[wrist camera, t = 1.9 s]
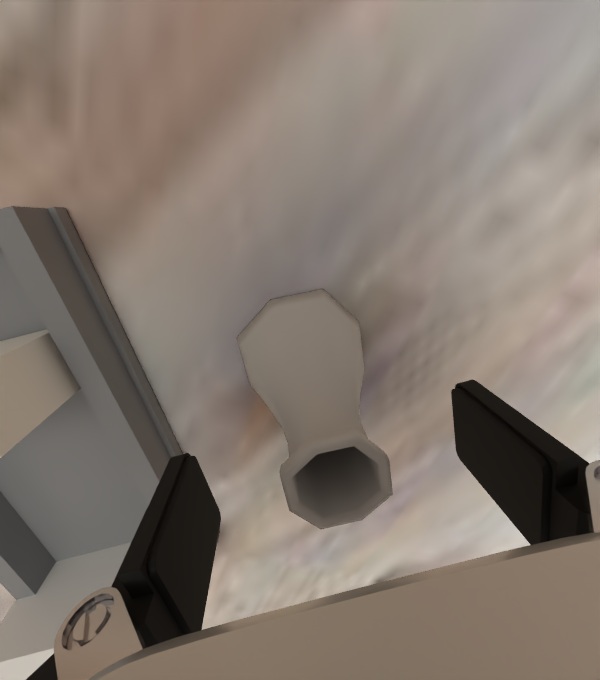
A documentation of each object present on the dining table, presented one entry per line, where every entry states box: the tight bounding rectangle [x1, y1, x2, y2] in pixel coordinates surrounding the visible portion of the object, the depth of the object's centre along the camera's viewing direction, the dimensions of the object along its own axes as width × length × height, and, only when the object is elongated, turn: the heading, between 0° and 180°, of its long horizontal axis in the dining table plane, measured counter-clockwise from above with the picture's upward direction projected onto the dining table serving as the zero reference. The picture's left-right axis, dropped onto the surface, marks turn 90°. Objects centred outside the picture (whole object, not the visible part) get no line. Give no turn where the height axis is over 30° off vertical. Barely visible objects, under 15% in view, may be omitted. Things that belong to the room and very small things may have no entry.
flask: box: [237, 289, 393, 529], centre depth 13 cm, size 7×7×10 cm
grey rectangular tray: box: [0, 206, 220, 680], centre depth 15 cm, size 22×12×6 cm, turn 14°
